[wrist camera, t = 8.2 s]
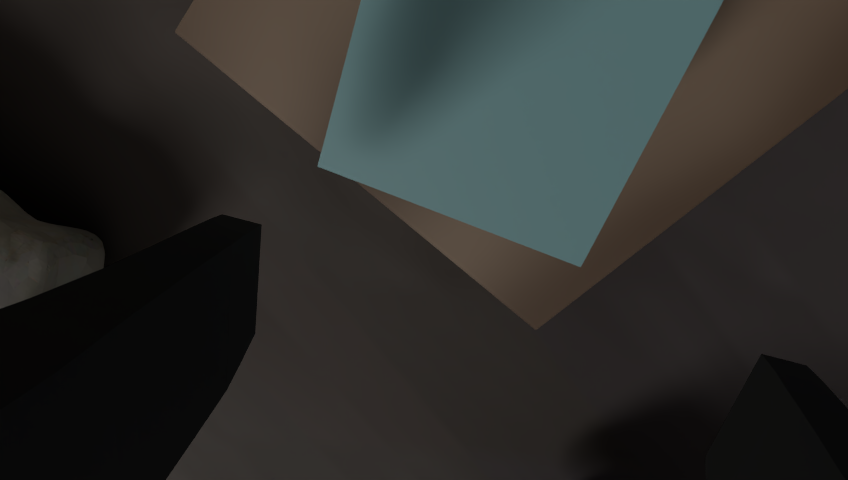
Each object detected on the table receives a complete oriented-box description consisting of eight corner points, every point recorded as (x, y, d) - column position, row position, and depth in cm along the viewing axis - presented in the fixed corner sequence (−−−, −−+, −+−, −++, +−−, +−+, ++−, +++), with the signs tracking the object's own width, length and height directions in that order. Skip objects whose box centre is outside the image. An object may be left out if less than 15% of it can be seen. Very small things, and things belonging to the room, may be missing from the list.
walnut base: (925, -34, 16) (975, -10, 14) (541, 280, 22) (535, 330, 20) (525, -476, 14) (512, -528, 12) (219, 8, 20) (174, 31, 18)
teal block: (689, -61, 14) (727, -7, 10) (584, 155, 17) (580, 267, 13) (453, -150, 15) (395, -134, 10) (385, 79, 17) (317, 166, 13)
